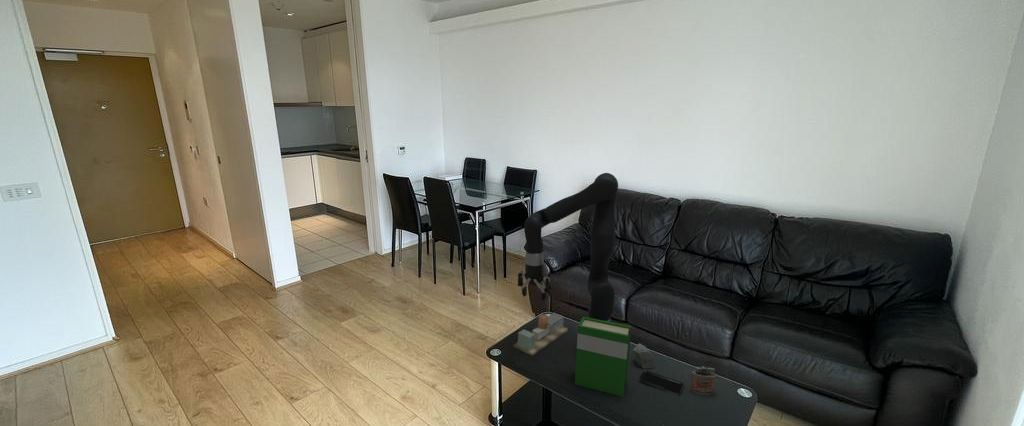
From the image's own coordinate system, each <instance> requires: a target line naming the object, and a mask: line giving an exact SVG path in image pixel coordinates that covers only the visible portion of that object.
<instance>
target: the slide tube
mask: <svg viewBox="0 0 1024 426" xmlns="http://www.w3.org/2000/svg"><path fill="white" fill-rule="evenodd" d="M537 324H538V326H537V327H536V328H534V329H533V330H532V331H531V333H533V334H535V339H537V340H540V339H541V338H542V337H544V336H545V335H547V334H548V333H550V326H549V325H548V315H547V314H540V315H538V323H537Z"/></svg>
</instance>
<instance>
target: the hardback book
mask: <svg viewBox="0 0 1024 426" xmlns="http://www.w3.org/2000/svg"><path fill="white" fill-rule="evenodd" d="M631 336H632V326H631V325H627V324H622V323H616V322H612V321H610V322H607V321H602V320H597V319H592V318H588V316H587V317H586V316H582V318H581V320H580V322H579V323H578V325H577V337H576V338H577V339H576V358H575V370H574V371H575V374H574V385H577V386H581V387H584V388H588V389H593V390H595V391H600V392H603V393H608V394H612V395H615V396H619V397H622V398H624V394H625V387H626V386H627V381H628V380H627V379H628V371H629V370H628V369H629V358H630V347H631Z"/></svg>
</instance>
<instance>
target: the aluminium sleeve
mask: <svg viewBox="0 0 1024 426" xmlns="http://www.w3.org/2000/svg"><path fill="white" fill-rule="evenodd" d="M547 316H548V315H547ZM564 321H565V316H563V315H561V314H558V313H555V312H553V313H552V314H550V315H549V316H548V325H549V326H550V333H548V335H550V336H551V335H553V334H554V333H556V332H557V331H559V330H560V329H562V328H563V327H565V326H564V323H565V322H564Z"/></svg>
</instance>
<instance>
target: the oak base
mask: <svg viewBox="0 0 1024 426" xmlns="http://www.w3.org/2000/svg"><path fill="white" fill-rule="evenodd" d="M568 331H569V328H568V327H566V326H563V328H562V329H560V330H559V331H557V332H556V333H554V334H553V335H551V336H550V335H548V334H547V335H545V336H544V337H542V338H541V339H540V340H537V339H535V347H534V348H533V349H532V350H531V351H527V350H525V349H523V348H521V347H519V346H518V341H517V342H516V343H514V344H513V348H515V349H517V350H519V351H521V352H523V353H525V354H527V355H529V356H532V357H533V356H535V355H536V354H537V353H539V352H540V351H542V350H543V349H544V348H545V347H547V346H548V345H550V344H551V343H553V342H554V341H555V340H557V339H558V338H560V337H561V336H563V335H564V334H566V333H567V332H568Z"/></svg>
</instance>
